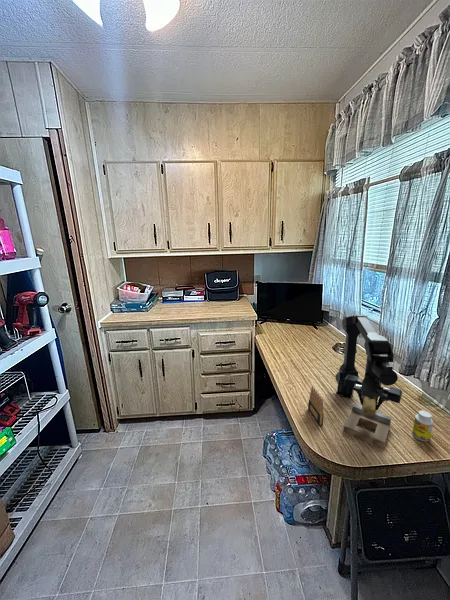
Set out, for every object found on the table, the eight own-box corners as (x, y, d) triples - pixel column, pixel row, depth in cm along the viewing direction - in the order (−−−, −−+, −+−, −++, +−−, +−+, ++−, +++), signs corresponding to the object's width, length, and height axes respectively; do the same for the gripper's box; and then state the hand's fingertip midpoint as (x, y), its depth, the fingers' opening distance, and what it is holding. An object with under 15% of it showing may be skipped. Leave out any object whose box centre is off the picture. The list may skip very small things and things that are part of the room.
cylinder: (360, 412, 100) (362, 394, 98) (363, 406, 104) (365, 388, 102) (374, 417, 97) (377, 398, 95) (376, 410, 101) (379, 392, 99)
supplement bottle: (408, 433, 101) (412, 411, 99) (417, 429, 103) (422, 407, 101) (423, 444, 96) (428, 420, 94) (433, 439, 98) (438, 416, 95)
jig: (343, 432, 102) (344, 421, 101) (352, 413, 113) (353, 403, 112) (383, 449, 94) (385, 437, 92) (389, 428, 104) (391, 417, 103)
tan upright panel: (323, 425, 106) (325, 399, 103) (318, 425, 106) (320, 400, 103) (311, 408, 116) (313, 385, 114) (307, 409, 116) (309, 385, 114)
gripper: (341, 371, 96) (337, 407, 100) (401, 389, 84) (394, 429, 88) (349, 360, 104) (345, 394, 108) (405, 375, 93) (398, 412, 96)
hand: (369, 407), depth 100 cm, fingers closed on cylinder, 5 cm apart
